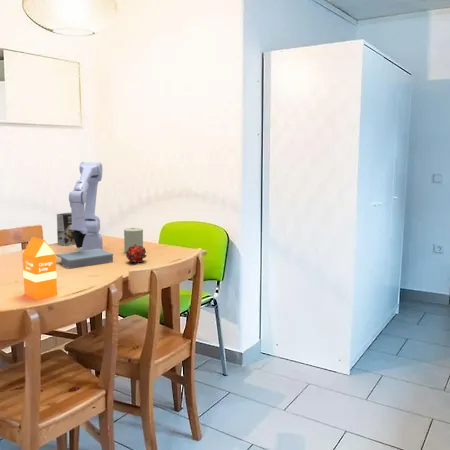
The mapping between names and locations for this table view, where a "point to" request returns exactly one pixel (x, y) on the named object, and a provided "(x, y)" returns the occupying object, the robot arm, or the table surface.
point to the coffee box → (64, 229)
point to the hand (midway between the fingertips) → (79, 247)
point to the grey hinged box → (86, 262)
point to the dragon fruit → (136, 253)
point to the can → (132, 237)
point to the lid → (84, 254)
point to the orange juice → (39, 269)
